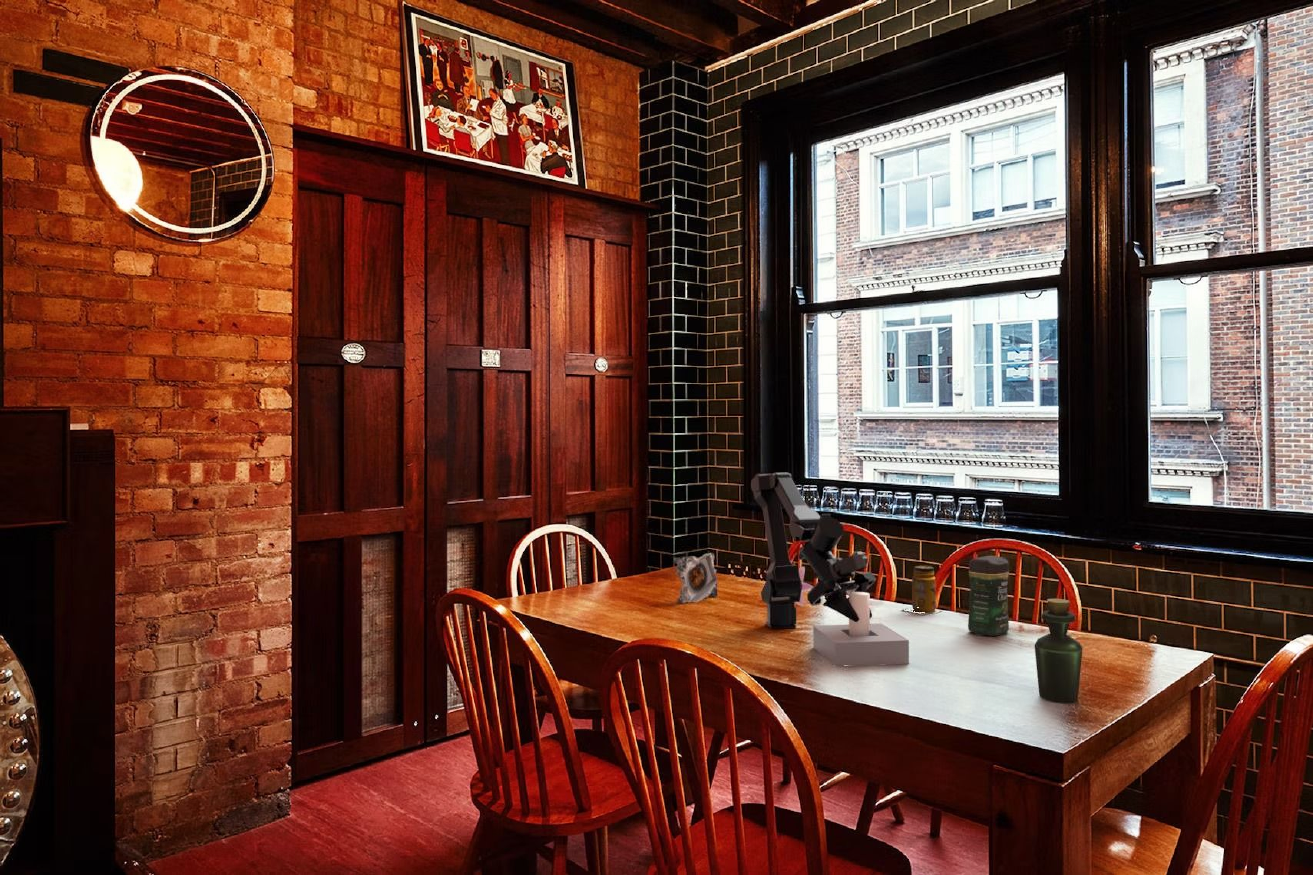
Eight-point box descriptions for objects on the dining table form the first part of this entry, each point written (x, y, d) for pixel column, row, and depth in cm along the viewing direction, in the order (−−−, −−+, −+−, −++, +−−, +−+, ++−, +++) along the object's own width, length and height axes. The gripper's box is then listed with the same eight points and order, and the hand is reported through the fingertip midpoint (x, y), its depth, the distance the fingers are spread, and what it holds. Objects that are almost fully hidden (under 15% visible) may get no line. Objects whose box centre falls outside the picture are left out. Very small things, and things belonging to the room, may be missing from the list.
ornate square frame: (706, 595, 263) (706, 551, 263) (717, 597, 260) (717, 552, 260) (673, 603, 252) (673, 557, 252) (684, 605, 249) (684, 558, 249)
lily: (762, 604, 254) (762, 578, 249) (785, 583, 261) (786, 558, 256) (796, 622, 247) (798, 596, 242) (820, 600, 254) (821, 575, 249)
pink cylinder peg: (852, 651, 191) (852, 596, 191) (846, 645, 195) (846, 592, 195) (872, 650, 191) (872, 595, 191) (865, 645, 196) (865, 591, 196)
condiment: (942, 611, 238) (942, 567, 238) (921, 615, 233) (921, 570, 233) (920, 607, 244) (920, 563, 244) (900, 610, 239) (899, 566, 239)
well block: (835, 666, 184) (835, 642, 184) (813, 647, 200) (813, 625, 200) (908, 663, 186) (908, 640, 186) (881, 645, 202) (881, 623, 202)
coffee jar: (993, 638, 207) (993, 560, 207) (963, 632, 213) (962, 556, 213) (1014, 632, 213) (1014, 555, 213) (984, 626, 219) (984, 552, 219)
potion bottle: (1031, 689, 167) (1031, 595, 167) (1078, 693, 165) (1078, 597, 165) (1037, 702, 160) (1037, 603, 159) (1086, 706, 157) (1086, 606, 157)
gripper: (817, 544, 190) (860, 603, 182) (869, 536, 202) (911, 591, 194) (789, 576, 196) (829, 634, 188) (841, 566, 208) (880, 620, 200)
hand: (864, 619), depth 192 cm, fingers closed on pink cylinder peg, 4 cm apart
